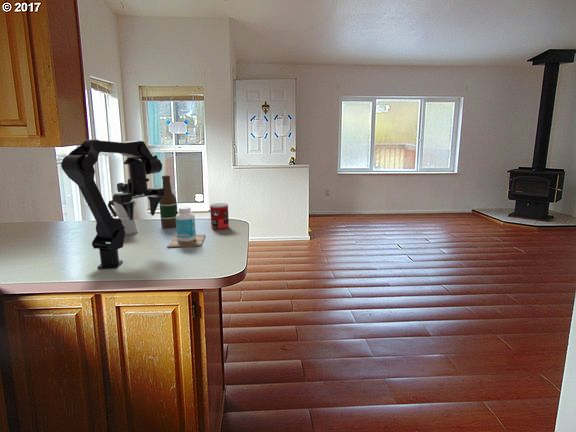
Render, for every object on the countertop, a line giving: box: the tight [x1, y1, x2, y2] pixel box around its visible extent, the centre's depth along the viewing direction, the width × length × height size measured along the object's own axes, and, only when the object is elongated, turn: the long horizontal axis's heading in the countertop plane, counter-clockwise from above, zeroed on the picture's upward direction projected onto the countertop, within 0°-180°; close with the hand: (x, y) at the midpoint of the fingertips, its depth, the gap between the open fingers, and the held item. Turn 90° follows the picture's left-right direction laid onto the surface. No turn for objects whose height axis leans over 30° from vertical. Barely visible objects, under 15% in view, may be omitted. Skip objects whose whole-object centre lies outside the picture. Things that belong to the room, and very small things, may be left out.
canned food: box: [209, 202, 230, 231], centre depth 185 cm, size 8×8×11 cm
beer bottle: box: [159, 175, 179, 229], centre depth 188 cm, size 8×8×24 cm
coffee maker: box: [107, 199, 138, 236], centre depth 178 cm, size 15×9×18 cm, turn 74°
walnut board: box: [166, 234, 206, 249], centre depth 164 cm, size 16×13×1 cm
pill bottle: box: [175, 206, 197, 242], centre depth 162 cm, size 8×7×14 cm
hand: (142, 217), depth 149 cm, fingers open, 9 cm apart
